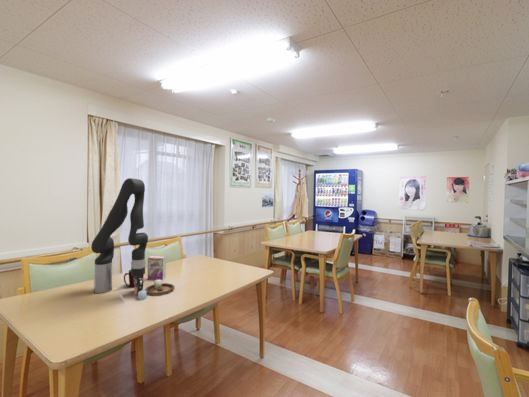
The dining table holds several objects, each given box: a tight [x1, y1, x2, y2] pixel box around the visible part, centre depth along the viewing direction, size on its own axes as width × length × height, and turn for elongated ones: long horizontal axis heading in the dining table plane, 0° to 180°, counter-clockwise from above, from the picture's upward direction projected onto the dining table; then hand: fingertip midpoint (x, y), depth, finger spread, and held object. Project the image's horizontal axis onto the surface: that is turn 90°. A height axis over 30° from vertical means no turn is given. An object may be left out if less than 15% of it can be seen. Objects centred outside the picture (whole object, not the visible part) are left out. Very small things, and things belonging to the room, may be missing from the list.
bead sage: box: [153, 279, 163, 290], centre depth 166 cm, size 4×4×5 cm
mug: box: [123, 269, 145, 289], centre depth 170 cm, size 12×9×11 cm
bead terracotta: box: [133, 287, 142, 296], centre depth 158 cm, size 4×4×5 cm
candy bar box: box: [147, 255, 167, 281], centre depth 185 cm, size 11×5×16 cm, turn 84°
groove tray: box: [144, 282, 175, 297], centre depth 163 cm, size 16×16×3 cm
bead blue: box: [137, 289, 147, 301], centre depth 151 cm, size 4×4×5 cm
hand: (138, 294), depth 158 cm, fingers closed on bead terracotta, 4 cm apart
